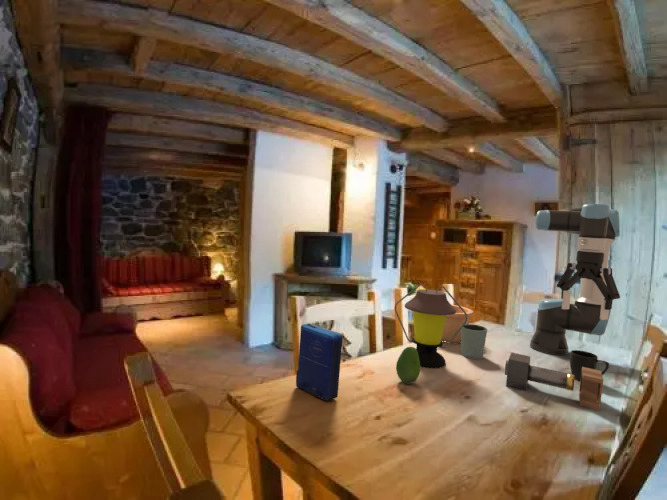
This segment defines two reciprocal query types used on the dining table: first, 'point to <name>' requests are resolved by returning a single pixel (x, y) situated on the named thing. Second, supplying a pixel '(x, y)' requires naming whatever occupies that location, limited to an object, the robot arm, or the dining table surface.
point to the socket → (590, 388)
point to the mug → (583, 362)
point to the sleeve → (518, 371)
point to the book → (319, 361)
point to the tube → (549, 377)
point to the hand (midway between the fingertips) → (583, 314)
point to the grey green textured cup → (473, 340)
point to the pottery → (455, 324)
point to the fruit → (408, 365)
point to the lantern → (429, 324)
